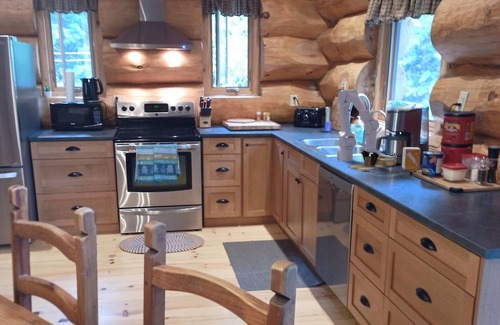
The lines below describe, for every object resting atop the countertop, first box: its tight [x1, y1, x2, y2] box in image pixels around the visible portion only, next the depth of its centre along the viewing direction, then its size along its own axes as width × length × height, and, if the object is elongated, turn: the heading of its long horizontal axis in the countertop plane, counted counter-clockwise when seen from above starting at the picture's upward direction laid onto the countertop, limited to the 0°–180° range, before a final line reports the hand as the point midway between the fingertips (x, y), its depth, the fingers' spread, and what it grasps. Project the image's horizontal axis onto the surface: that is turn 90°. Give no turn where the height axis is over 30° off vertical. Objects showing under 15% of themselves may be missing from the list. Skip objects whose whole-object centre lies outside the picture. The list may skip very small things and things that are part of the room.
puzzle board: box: [347, 156, 397, 173], centre depth 258 cm, size 13×25×5 cm, turn 121°
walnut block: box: [364, 155, 373, 167], centre depth 257 cm, size 4×4×6 cm
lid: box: [379, 152, 398, 158], centre depth 264 cm, size 8×7×3 cm
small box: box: [401, 146, 421, 173], centre depth 249 cm, size 8×6×13 cm
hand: (369, 164), depth 257 cm, fingers open, 5 cm apart
